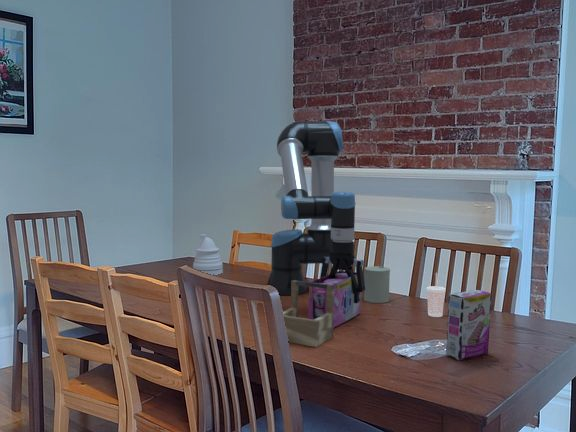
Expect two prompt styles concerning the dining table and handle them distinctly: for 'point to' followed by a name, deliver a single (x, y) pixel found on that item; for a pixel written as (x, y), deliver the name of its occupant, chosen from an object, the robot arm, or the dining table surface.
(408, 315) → the dining table surface
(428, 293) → the beverage cup
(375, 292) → the can
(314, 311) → the gum box
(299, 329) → the dispenser
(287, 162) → the robot arm
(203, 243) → the honey pot
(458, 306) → the candy bar box
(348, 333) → the dining table surface
